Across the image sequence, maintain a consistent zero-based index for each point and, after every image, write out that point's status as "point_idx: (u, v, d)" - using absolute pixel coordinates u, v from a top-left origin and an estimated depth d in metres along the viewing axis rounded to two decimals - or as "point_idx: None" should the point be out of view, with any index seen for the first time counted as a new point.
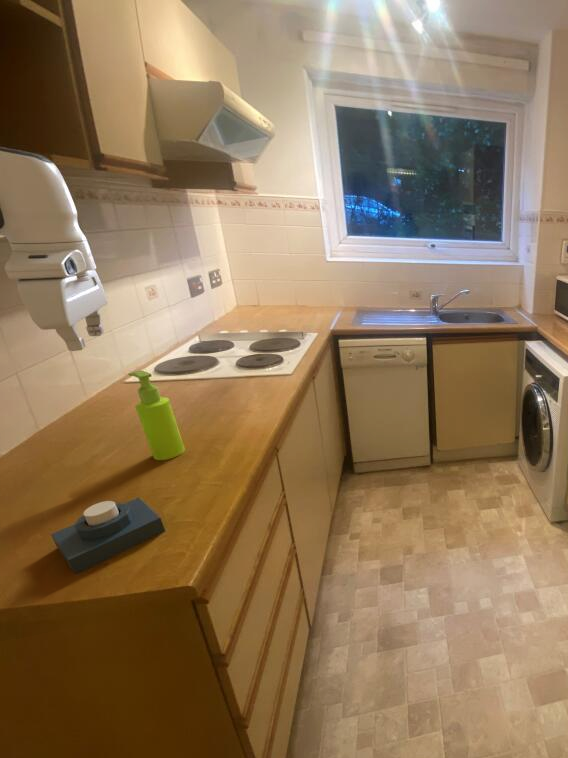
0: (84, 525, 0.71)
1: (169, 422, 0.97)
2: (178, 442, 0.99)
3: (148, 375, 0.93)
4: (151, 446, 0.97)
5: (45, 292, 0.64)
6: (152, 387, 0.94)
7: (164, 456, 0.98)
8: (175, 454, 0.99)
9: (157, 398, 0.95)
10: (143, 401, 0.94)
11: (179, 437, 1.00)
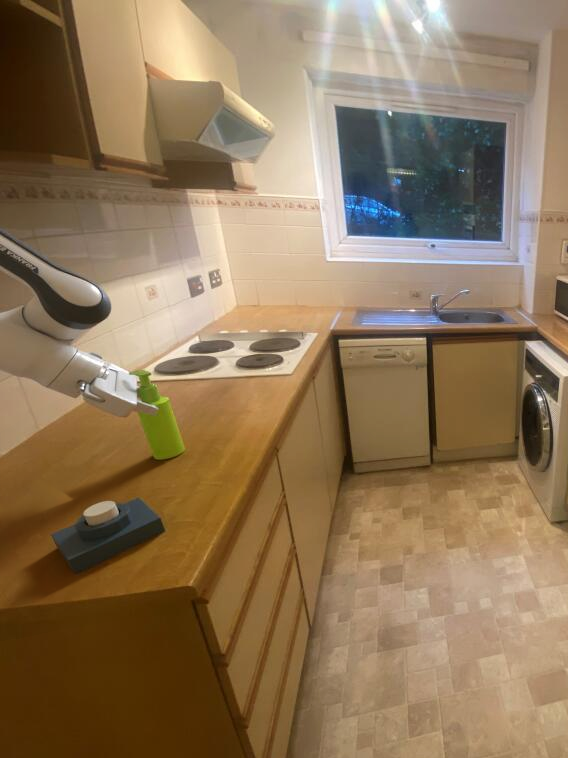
0: (84, 525, 0.71)
1: (169, 421, 0.97)
2: (178, 441, 0.99)
3: (148, 374, 0.93)
4: (151, 445, 0.97)
5: None
6: (152, 386, 0.95)
7: (164, 455, 0.98)
8: (175, 453, 0.99)
9: (156, 396, 0.95)
10: (143, 400, 0.94)
11: (179, 436, 1.00)
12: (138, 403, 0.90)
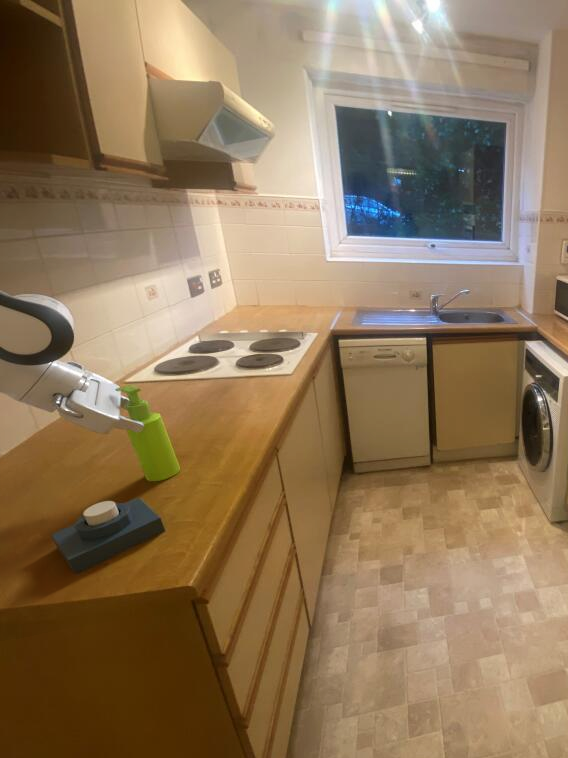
0: (84, 525, 0.71)
1: (162, 440, 0.89)
2: (172, 460, 0.92)
3: (137, 389, 0.85)
4: (143, 467, 0.89)
5: None
6: (142, 402, 0.87)
7: (158, 477, 0.90)
8: (170, 474, 0.92)
9: (147, 414, 0.87)
10: (133, 418, 0.86)
11: (173, 455, 0.92)
12: (121, 419, 0.82)
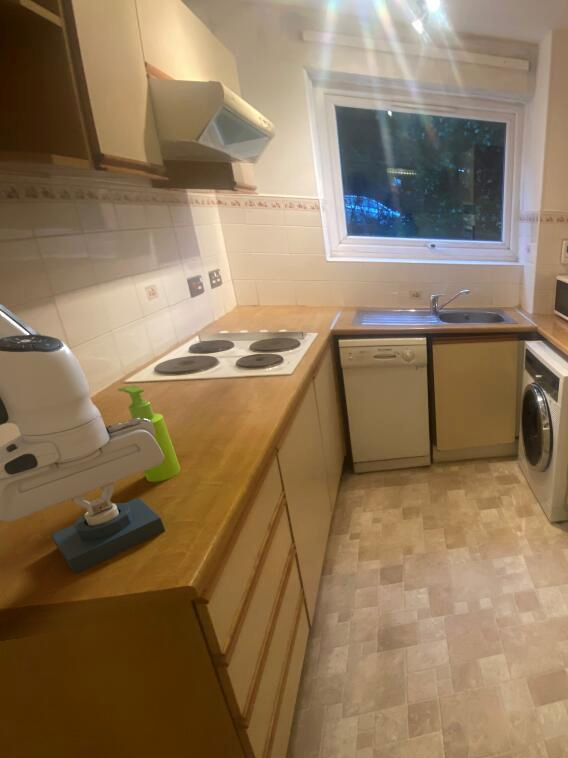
0: (84, 525, 0.71)
1: (164, 441, 0.90)
2: (173, 461, 0.92)
3: (140, 390, 0.85)
4: None
5: None
6: (144, 403, 0.87)
7: (158, 477, 0.90)
8: (170, 475, 0.92)
9: (149, 414, 0.87)
10: None
11: (174, 456, 0.93)
12: None
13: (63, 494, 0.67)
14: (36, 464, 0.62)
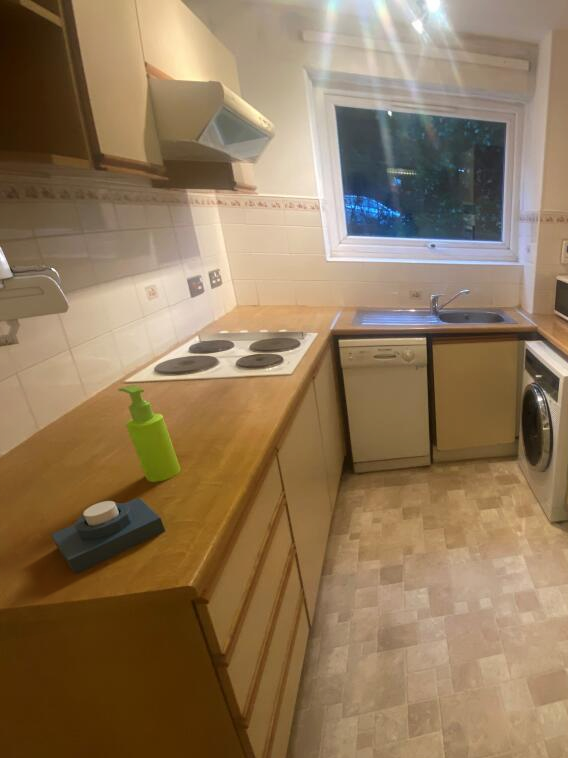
0: (84, 525, 0.71)
1: (164, 441, 0.90)
2: (173, 461, 0.92)
3: (140, 390, 0.85)
4: (144, 467, 0.89)
5: None
6: (144, 403, 0.87)
7: (158, 477, 0.90)
8: (170, 475, 0.92)
9: (150, 414, 0.87)
10: (135, 419, 0.86)
11: (174, 456, 0.93)
12: None
13: None
14: None
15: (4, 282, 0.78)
